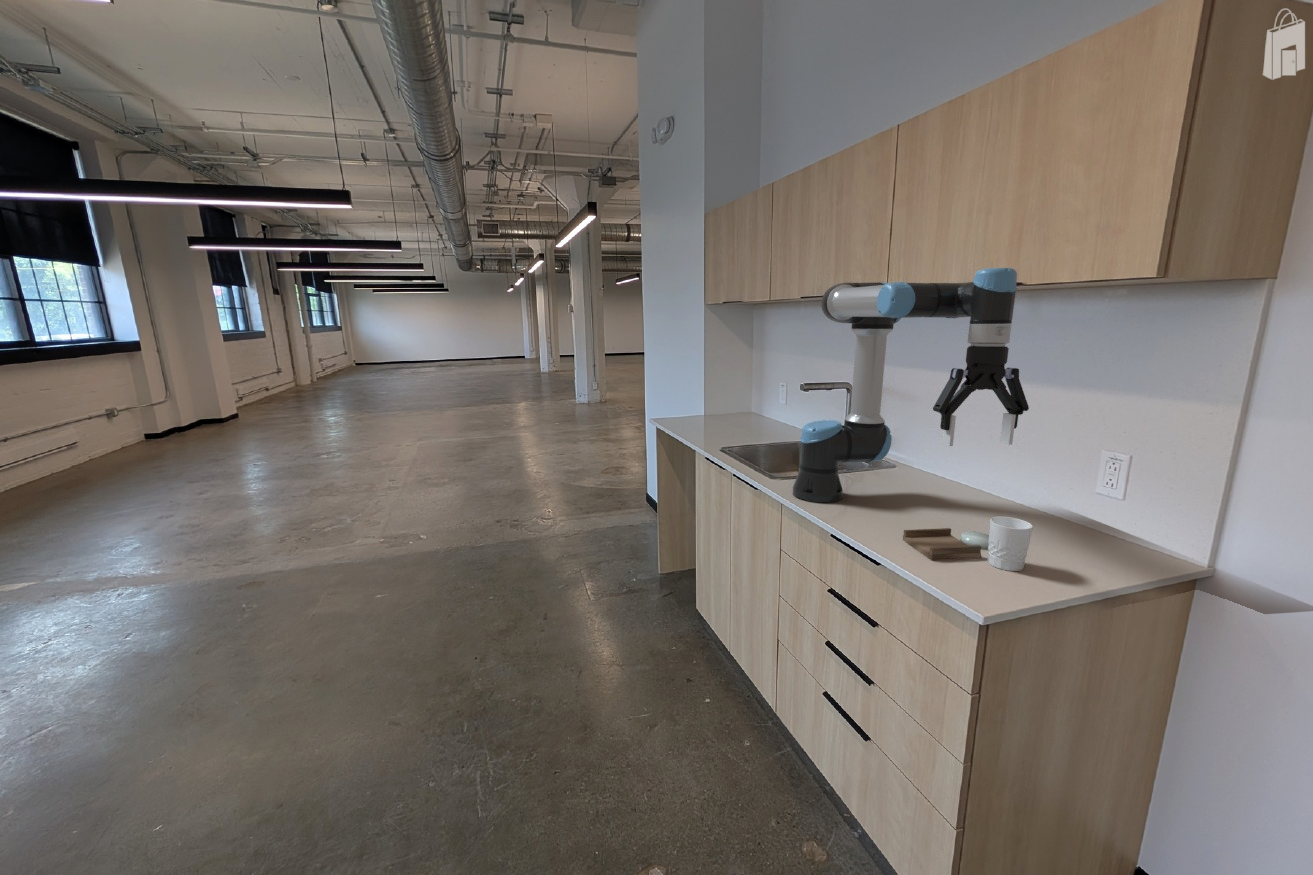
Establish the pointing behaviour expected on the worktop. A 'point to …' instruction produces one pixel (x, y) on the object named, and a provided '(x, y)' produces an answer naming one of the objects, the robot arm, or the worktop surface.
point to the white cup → (1008, 543)
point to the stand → (940, 544)
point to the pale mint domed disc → (975, 539)
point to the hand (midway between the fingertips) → (976, 444)
